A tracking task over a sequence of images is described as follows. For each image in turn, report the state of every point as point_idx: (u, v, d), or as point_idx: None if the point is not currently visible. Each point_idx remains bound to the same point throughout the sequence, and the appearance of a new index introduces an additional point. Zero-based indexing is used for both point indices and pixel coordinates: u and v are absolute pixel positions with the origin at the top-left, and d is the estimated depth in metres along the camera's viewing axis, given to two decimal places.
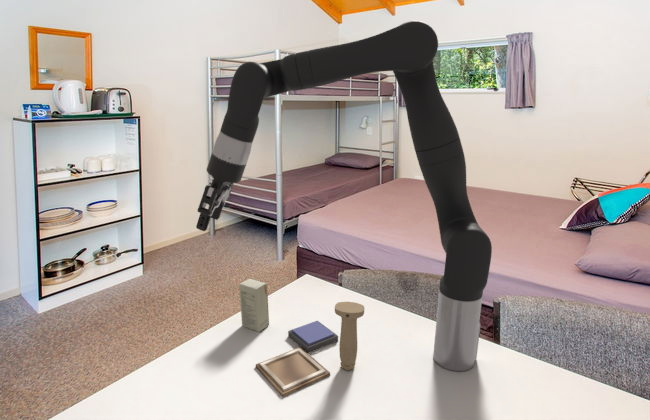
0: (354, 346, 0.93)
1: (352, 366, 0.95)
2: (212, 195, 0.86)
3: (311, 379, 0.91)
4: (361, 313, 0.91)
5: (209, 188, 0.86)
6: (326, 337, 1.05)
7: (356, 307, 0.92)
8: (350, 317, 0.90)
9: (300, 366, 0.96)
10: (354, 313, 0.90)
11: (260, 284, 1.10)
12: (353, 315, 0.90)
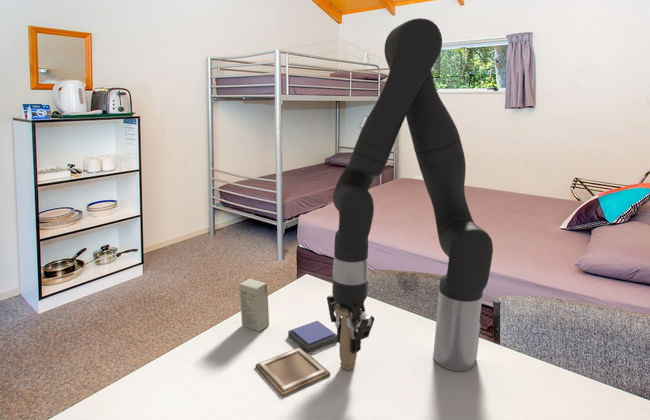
0: None
1: (352, 366, 0.95)
2: (371, 323, 0.88)
3: (311, 379, 0.91)
4: None
5: (368, 321, 0.87)
6: (326, 337, 1.05)
7: None
8: None
9: (300, 366, 0.96)
10: None
11: (260, 284, 1.10)
12: None
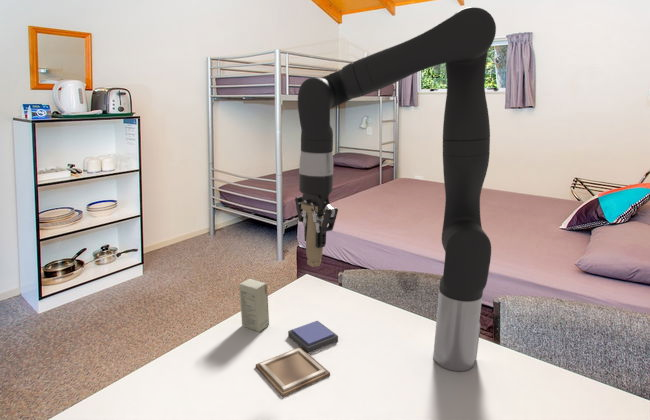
0: None
1: (318, 262, 0.99)
2: (334, 215, 0.93)
3: (311, 379, 0.91)
4: None
5: (332, 211, 0.92)
6: (326, 337, 1.05)
7: None
8: None
9: (300, 366, 0.96)
10: None
11: (260, 284, 1.10)
12: None
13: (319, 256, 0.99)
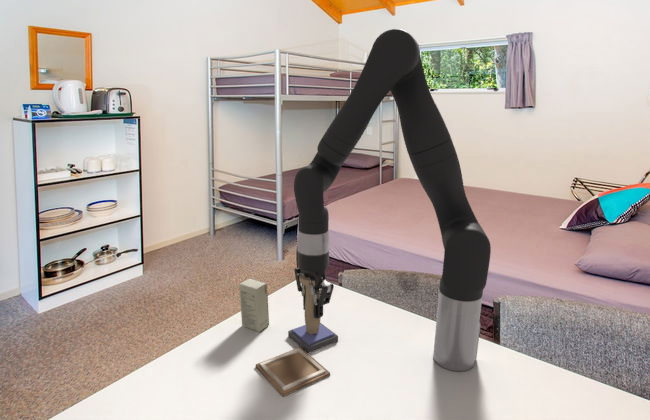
0: None
1: (316, 330, 1.05)
2: (330, 290, 0.99)
3: (311, 379, 0.91)
4: None
5: (328, 287, 0.98)
6: (326, 337, 1.05)
7: None
8: None
9: (300, 366, 0.96)
10: None
11: (260, 284, 1.10)
12: None
13: (317, 325, 1.05)
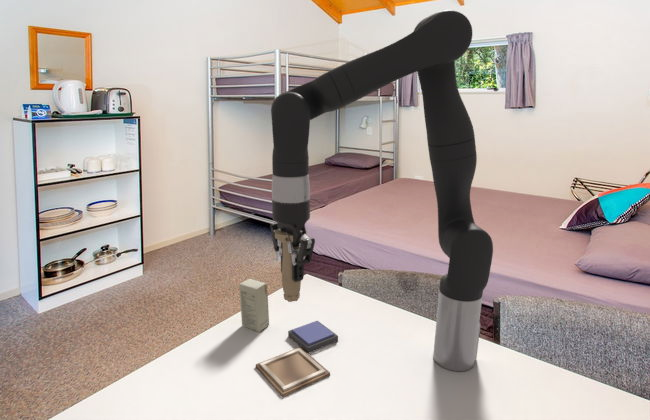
0: None
1: (295, 297, 0.89)
2: (311, 246, 0.82)
3: (311, 379, 0.91)
4: None
5: (308, 242, 0.81)
6: (326, 337, 1.05)
7: None
8: None
9: (300, 366, 0.96)
10: None
11: (260, 284, 1.10)
12: None
13: (297, 290, 0.88)
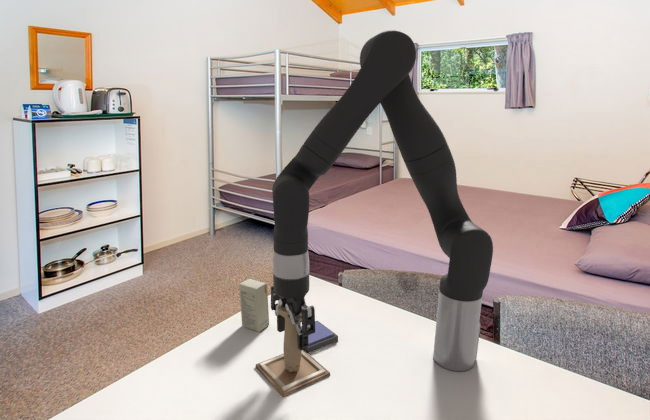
0: (297, 347, 0.92)
1: (296, 368, 0.93)
2: (312, 314, 0.85)
3: (311, 379, 0.91)
4: None
5: (307, 310, 0.85)
6: (326, 337, 1.05)
7: None
8: None
9: (300, 366, 0.96)
10: None
11: (260, 284, 1.10)
12: None
13: (297, 361, 0.93)
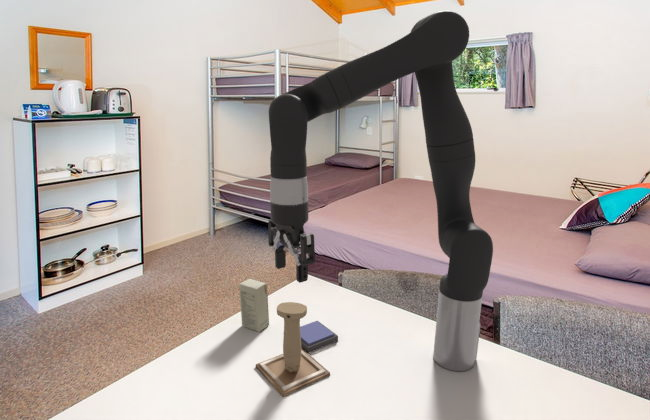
0: (297, 347, 0.92)
1: (296, 368, 0.93)
2: (311, 241, 0.81)
3: (311, 379, 0.91)
4: (302, 314, 0.89)
5: (306, 237, 0.81)
6: (326, 337, 1.05)
7: (299, 308, 0.91)
8: (291, 318, 0.89)
9: (300, 366, 0.96)
10: (295, 313, 0.88)
11: (260, 284, 1.10)
12: (294, 316, 0.88)
13: (297, 362, 0.93)
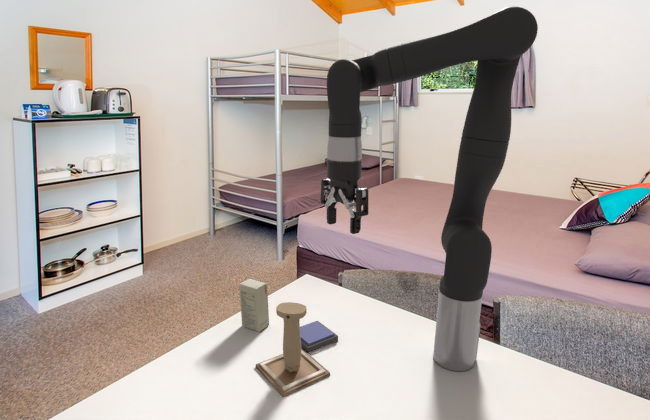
0: (297, 348, 0.92)
1: (296, 368, 0.93)
2: (366, 195, 0.90)
3: (311, 379, 0.91)
4: (301, 314, 0.89)
5: (362, 190, 0.89)
6: (326, 337, 1.05)
7: (298, 308, 0.90)
8: (291, 318, 0.89)
9: (300, 366, 0.96)
10: (294, 314, 0.88)
11: (260, 284, 1.10)
12: (293, 316, 0.88)
13: (297, 362, 0.93)
